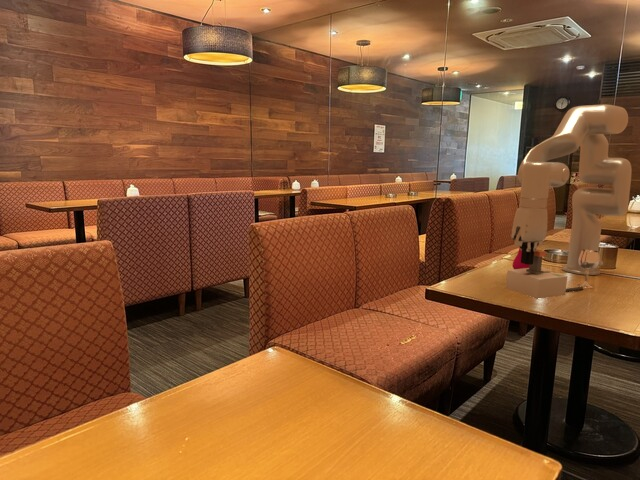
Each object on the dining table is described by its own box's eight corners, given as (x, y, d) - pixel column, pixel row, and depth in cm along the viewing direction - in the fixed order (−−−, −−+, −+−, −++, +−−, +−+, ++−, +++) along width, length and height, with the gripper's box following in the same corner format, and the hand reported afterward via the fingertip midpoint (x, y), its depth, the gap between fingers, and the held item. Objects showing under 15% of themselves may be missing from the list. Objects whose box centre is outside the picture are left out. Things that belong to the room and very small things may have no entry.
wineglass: (575, 286, 148) (580, 251, 146) (575, 282, 153) (579, 248, 151) (595, 289, 145) (601, 253, 143) (594, 285, 150) (599, 250, 148)
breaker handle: (532, 270, 142) (534, 248, 141) (544, 273, 138) (546, 251, 137) (525, 270, 141) (527, 249, 140) (536, 274, 137) (539, 252, 136)
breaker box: (554, 282, 153) (556, 265, 152) (587, 292, 142) (589, 273, 141) (505, 288, 144) (507, 269, 143) (537, 299, 133) (539, 279, 132)
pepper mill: (529, 275, 161) (535, 220, 157) (536, 281, 154) (543, 223, 150) (508, 274, 162) (514, 219, 158) (515, 280, 155) (521, 222, 151)
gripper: (540, 202, 141) (534, 259, 144) (504, 203, 135) (498, 262, 138) (561, 205, 134) (554, 264, 137) (525, 205, 128) (518, 268, 131)
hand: (526, 263), depth 138 cm, fingers closed
